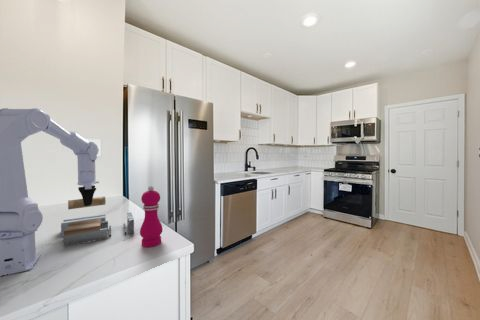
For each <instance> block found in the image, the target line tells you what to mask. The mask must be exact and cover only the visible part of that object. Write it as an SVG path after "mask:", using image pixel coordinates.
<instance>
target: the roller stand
mask: <svg viewBox="0 0 480 320" xmlns="http://www.w3.org/2000/svg"><path fill="white" fill-rule="evenodd" d="M95 218H101V222H102V221H107V220H106V214H104V213H103V214H98V215H91V216H84V217H76V218H67V219H63V221H62V222H61V224H60V235H61V236H63V235H64V230H65V229H66V227H67V225H68V224H69V222H74V221H81V220H88V219H95Z"/></svg>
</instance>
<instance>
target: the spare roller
mask: <svg viewBox="0 0 480 320" xmlns="http://www.w3.org/2000/svg"><path fill="white" fill-rule="evenodd" d="M106 202H107V201H106V196H97V197H93V199H92V204H91V205H89V206H85V205H84V202H83V198H79V199H78V198H77V199H70V200H67V205H68V206H67V209H68V211H69V210H75V209H76V210H77V209H81V208H89V207H97V206H105V205H106Z"/></svg>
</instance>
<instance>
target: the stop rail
mask: <svg viewBox="0 0 480 320" xmlns="http://www.w3.org/2000/svg"><path fill="white" fill-rule="evenodd" d="M126 220H127V222H126V226H127V229H128V230H129V231H128V230H127V231H128V235H129V234H131V235H134V234H135V219H134V216H133V214H132V212H126Z"/></svg>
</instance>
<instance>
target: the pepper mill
mask: <svg viewBox="0 0 480 320" xmlns="http://www.w3.org/2000/svg"><path fill="white" fill-rule="evenodd" d="M147 189H148V190H147V191H145V192H143V193H142V195H141V199H140V200H141V202H142V204H143V205H142V206H143V211H144V219H143V222H142V224H141V225H140V226H141V227H140V229H139V235H140V237H141V238H142V239H141V246H142V247H144V248H152V247H156V246H158V245H160V244H161V243H162V236H161V235H162V233H163V225H162V223H161V221H160V219H159V216H158V209H159V208H160V205H159V202H160V201H161V194H160V193H159V192H158V191H157V190H154V186H152V185H150V186H148V188H147Z"/></svg>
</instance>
